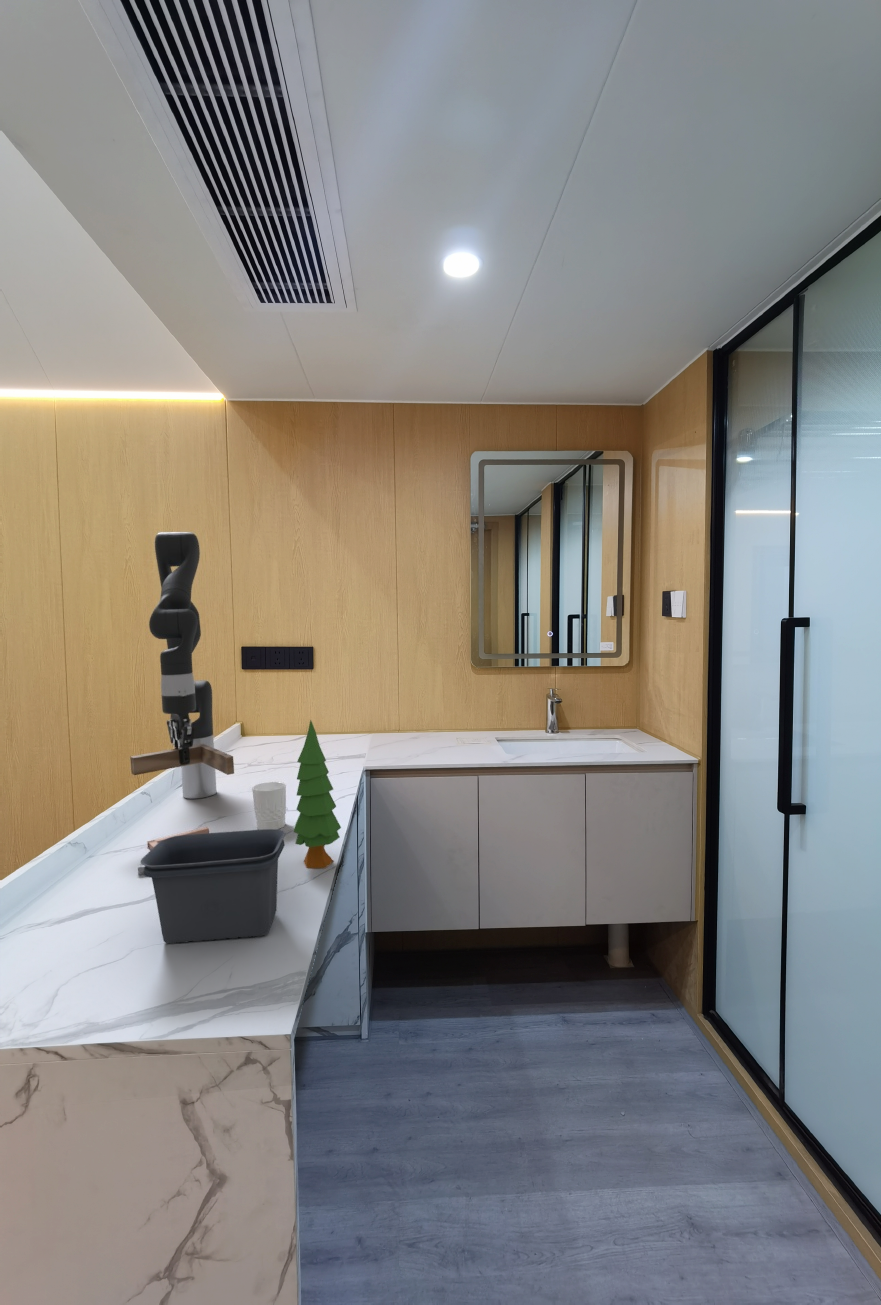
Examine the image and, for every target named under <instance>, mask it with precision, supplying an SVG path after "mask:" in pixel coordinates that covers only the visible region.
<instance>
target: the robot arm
mask: <svg viewBox="0 0 881 1305" xmlns="http://www.w3.org/2000/svg"><path fill="white" fill-rule="evenodd" d="M154 551H155V552H154V553H155V558H156V564H157V571H158V575H159V577H158V578H159V581H160V588H161V592H160V599H159V602H158V603H157V605H156V607H155V608H154V609H153V611H152V613H151V615H150V617H149V621H148V622H149V623H148V627H149V631H150V633H151V635H152V637H154V638H156V639H158V640H166V647H167V649H164V650H162V651H161V652H160V655H159V658H160V660H159V662H160V674H161V676H160V693H161V706H162V708H161V709H162V710H161V712H162V713H164V714H166V715H170V719H169V720H166V726H167V730H168V735H169V740H170V743H171V744H172V747H173V748H174V749H177V748H179V761H180V764H181V765H185V764H189V763H190V757H189V748H190V747H192V746H194V745H200V744H205V745H207V746H210V747H212V748H215V742H214V721H213V688H212V684H211V682H209V681H208V680H195V678H194V672H193V653H194V651H195V649H196V647H197V646H198V643H199V642H200V640H201V635H202V632H201V631H202V630H201V621H200V618H201V617H200V614H199V613H200V612H199V611H198V609H197V607H196V606H195V604H194V603H193V602H192V589H193V583H194V580H195V576H196V574H197V570H198V565H199V562H200V556H201V555H200V554H201V551H200V543H199V539H198V536H197V535H196V534H195V533H194V532H187V531H182V532H181V531H178V532H177V531H173V532H172V531H171V532H165V531H164V532H158V533H157V534H156V535H155V537H154ZM172 567H177V568H175V569H173V570H172ZM195 713H196V714H197V713H199V715H198V716H199V717H198V718H196V719H195V720H194V721H192V719H191V718H190V714H195ZM180 769H181V770H180V771H181V786H182V789H181V790H182V797H183V798H185V799H201V798H202V799H203V798H208V797H212V796H213V795H215V794H216V793H217V775H216V769H215V768H213V767H210V766H208V765H206V764H204V763H197V764H191V765H186V766H181V768H180Z"/></svg>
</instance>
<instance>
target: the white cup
mask: <svg viewBox="0 0 881 1305" xmlns="http://www.w3.org/2000/svg"><path fill="white" fill-rule="evenodd" d="M286 788H287V784H286V783H284V782H282V781H268V782H261V783H258V784H255V785H253V786H252V797H253V807H254V808H253V809H254V815H255V820H256V828H257V830H263V829H276V830H281V828H283V827H285V826H286V814H287V789H286Z"/></svg>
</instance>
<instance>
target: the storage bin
mask: <svg viewBox="0 0 881 1305" xmlns="http://www.w3.org/2000/svg"><path fill="white" fill-rule="evenodd" d="M285 835H286V831H285V830H282V829H263V830H259V829H249V830H237V831H236V830H235V831H223V832H222V831H221V832H209V833H205V834H189V835H179V836H174V837H170V838H167V839H164V840H162V841H160V842H159V843H158V844H157V845H156V846H155V847H154V848H153V849H152V850H151V849H149V851H148V852H147V853H146V854H145V855H144V856H143V857H142V858H141V860H140V864H142V865H144V866H145V867H144V873H143V874H144V875H143V876H145V877H147V878H151V881H152V885H153V892H154V895H155V900H156V906H157V913H158V918H159V923H160V929H161V934H162V939H163V942H164V943H167V944H177V943H176V942H181V943H189V942H188V941H193V942H201V941H202V940H205V941H214V939H217V940H226V939H225V938H229V939H238V937H241V938H249V937H248V936H253V937H260V936H261V937H262V936H265V935H267V934H268V933H269V931H270V930H271V926H272V923H273V921H274V918H275V916H276V914H277V908H278V907H277V904H278V874H279V872H278V871H279V870H278V868H279V866H278V865H279V863H278V862H279V858H280V856H281V854H282V852H283V850H284V848H285V845H286V844H285V840H284V838H285ZM186 941H187V942H186Z"/></svg>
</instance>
